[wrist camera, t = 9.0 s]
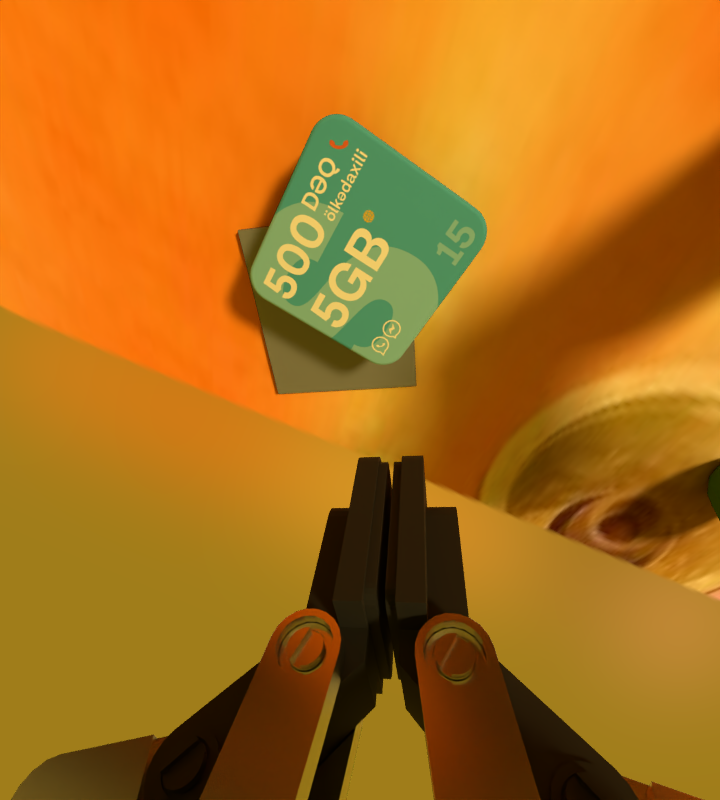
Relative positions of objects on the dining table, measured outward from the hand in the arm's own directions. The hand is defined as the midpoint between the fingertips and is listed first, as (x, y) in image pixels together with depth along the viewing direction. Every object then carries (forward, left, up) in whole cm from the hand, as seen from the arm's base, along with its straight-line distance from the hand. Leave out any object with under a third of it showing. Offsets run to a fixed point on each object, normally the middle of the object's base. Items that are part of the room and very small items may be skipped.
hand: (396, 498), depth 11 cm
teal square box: (-3, +1, -21) cm, 21 cm away
